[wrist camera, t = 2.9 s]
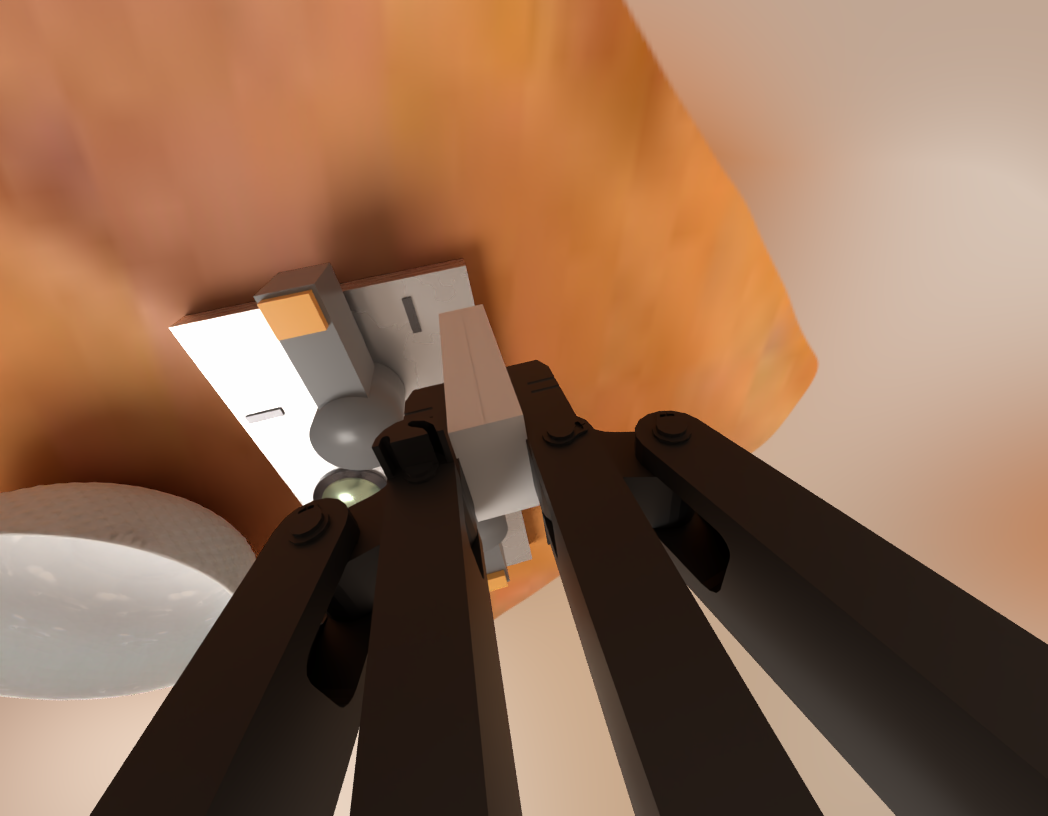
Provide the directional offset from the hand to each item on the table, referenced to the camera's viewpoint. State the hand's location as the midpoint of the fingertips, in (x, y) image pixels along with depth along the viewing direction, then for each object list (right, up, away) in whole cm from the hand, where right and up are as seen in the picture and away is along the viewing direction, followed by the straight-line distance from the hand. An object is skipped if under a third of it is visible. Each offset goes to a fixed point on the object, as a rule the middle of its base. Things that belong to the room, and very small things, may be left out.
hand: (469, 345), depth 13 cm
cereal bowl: (-25, -11, +14) cm, 31 cm away
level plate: (-7, -7, +16) cm, 18 cm away
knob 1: (-8, +1, +8) cm, 11 cm away
